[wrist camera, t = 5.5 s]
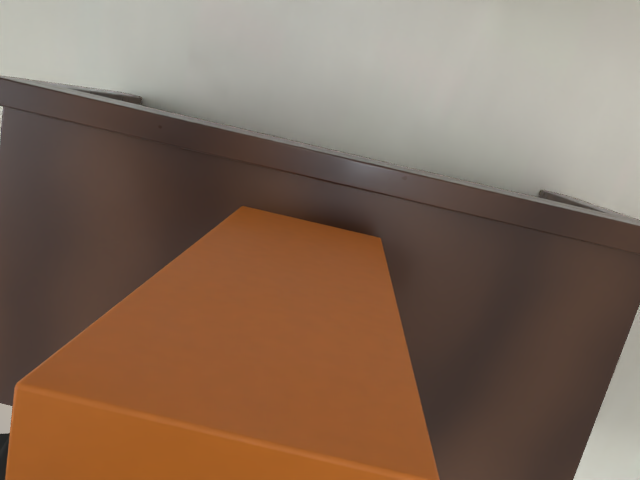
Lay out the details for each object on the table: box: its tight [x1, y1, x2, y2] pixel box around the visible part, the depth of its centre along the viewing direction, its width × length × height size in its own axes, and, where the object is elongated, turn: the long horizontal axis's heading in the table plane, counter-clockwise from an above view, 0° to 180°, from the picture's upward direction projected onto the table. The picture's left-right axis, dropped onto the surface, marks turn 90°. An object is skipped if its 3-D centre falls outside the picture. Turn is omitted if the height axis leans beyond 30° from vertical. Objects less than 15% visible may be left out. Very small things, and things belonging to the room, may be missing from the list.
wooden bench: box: [0, 76, 640, 480], centre depth 26 cm, size 26×14×12 cm, turn 77°
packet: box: [5, 206, 440, 480], centre depth 13 cm, size 5×9×13 cm, turn 167°
